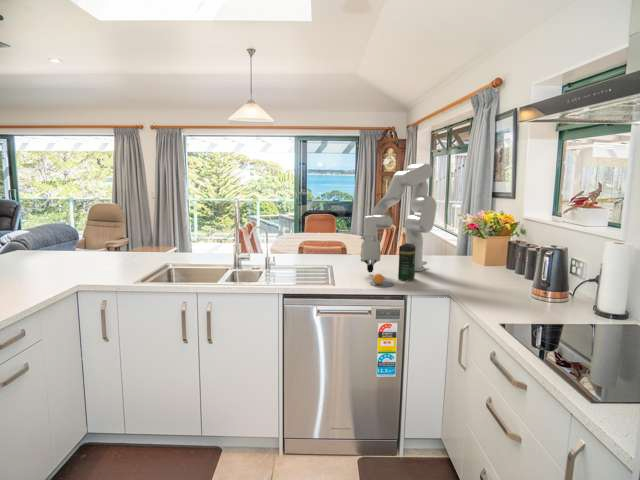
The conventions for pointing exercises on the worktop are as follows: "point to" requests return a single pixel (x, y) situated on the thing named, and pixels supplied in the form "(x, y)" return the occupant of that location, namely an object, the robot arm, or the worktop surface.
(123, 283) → the worktop surface
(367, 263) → the robot arm
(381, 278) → the ball
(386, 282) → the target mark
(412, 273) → the coffee jar
